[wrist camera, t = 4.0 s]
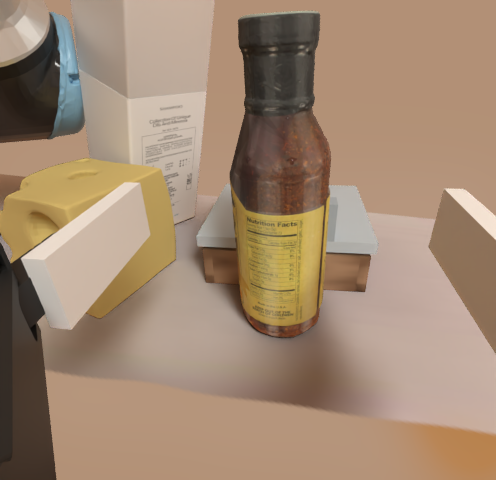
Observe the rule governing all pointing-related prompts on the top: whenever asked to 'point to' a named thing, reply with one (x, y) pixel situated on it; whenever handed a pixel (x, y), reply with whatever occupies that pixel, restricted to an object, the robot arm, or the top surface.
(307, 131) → the sauce bottle
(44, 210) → the cheese
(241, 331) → the top surface
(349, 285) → the brown flat block
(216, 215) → the lid
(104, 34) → the tall white carton
